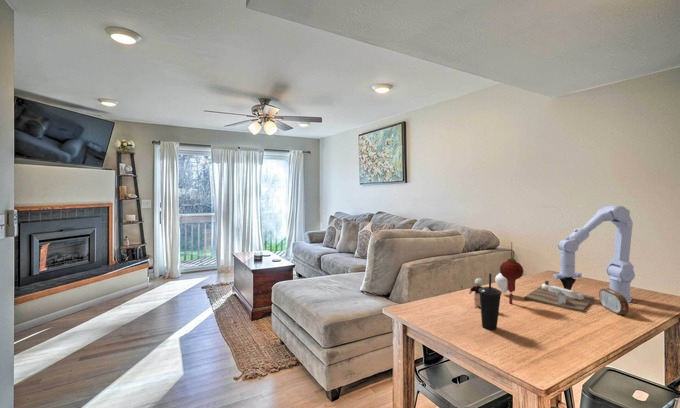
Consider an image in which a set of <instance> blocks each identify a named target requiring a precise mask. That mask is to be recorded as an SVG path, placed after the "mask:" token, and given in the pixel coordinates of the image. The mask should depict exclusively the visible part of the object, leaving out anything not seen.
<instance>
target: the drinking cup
mask: <svg viewBox="0 0 680 408" xmlns="http://www.w3.org/2000/svg"><path fill="white" fill-rule="evenodd" d="M482 287H483V288H480V289H479V292H480V305H481V308H480V315H481V327H482V328H483V329H485V330H490V331H496V330H497V328H498V322H499V321H498V320H499V312H500V303H501V295H502V293H503V292H502V291H501V290H500V289H499V288H498V289H497V288H495V287H493V286H492V273H491V272H489V275H488V286H482Z"/></svg>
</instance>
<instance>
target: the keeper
mask: <svg viewBox="0 0 680 408" xmlns="http://www.w3.org/2000/svg"><path fill="white" fill-rule="evenodd" d="M551 290H552V291H553V292H554V293H555V294H556V295H557V303H559V304H563V305H566V295H565V294H563V293H562V292H561V291H560V290H558V289H554V288H551Z"/></svg>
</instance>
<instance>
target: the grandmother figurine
mask: <svg viewBox="0 0 680 408" xmlns="http://www.w3.org/2000/svg"><path fill="white" fill-rule="evenodd" d="M483 282H484V281H483V279H482V278H480V277H478V278H475V280H474V284H475V286H472V287H471V288H470V289H469V292H468V293H469V295H471V294H472V293H473V292H474V295H473V296H474V299H473V300H474V306H473V307H474V308H476V309H477V308H478V309H479V308H480V309H481V305H480V292H479V289H480V288H483V287H484V286H483Z"/></svg>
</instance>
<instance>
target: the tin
mask: <svg viewBox="0 0 680 408" xmlns="http://www.w3.org/2000/svg"><path fill="white" fill-rule="evenodd" d="M598 294H599V295H598V296H599V301H600V303H601V305H602V306H603V307H604V308H606V309H607V310H609V311H610V312H613V313H614V314H616V315H623V316H624V315H627V314H628V313H629V310H630V309H629V307H630V306H629V302H627V300H626V298H625V297H624V296H623V295H622V294H620V293H618V292H616V291H614V290H612V289H610V287H609V288H601V289H599V293H598Z"/></svg>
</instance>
